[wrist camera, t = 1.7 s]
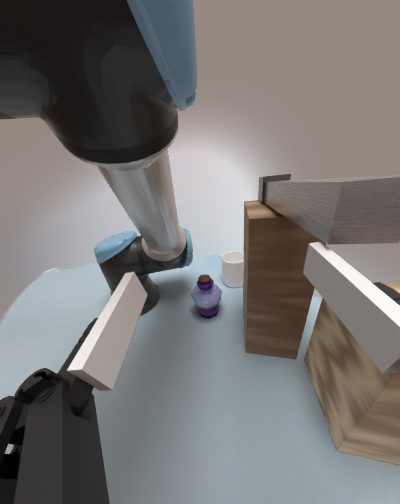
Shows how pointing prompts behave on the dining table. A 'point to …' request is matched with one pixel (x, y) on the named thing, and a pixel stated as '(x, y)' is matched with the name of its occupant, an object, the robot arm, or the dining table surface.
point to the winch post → (274, 281)
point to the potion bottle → (206, 296)
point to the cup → (233, 269)
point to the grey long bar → (338, 206)
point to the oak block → (354, 390)
